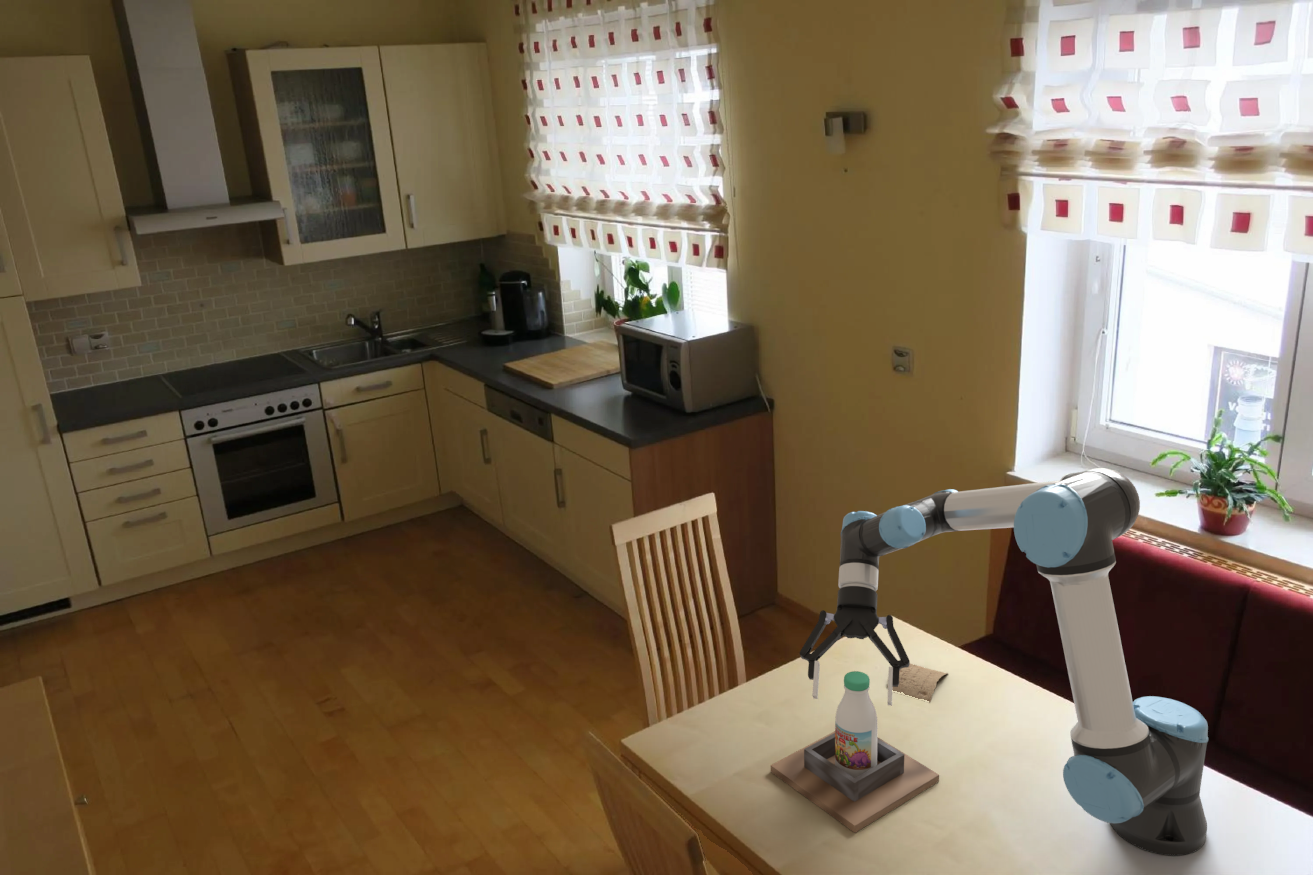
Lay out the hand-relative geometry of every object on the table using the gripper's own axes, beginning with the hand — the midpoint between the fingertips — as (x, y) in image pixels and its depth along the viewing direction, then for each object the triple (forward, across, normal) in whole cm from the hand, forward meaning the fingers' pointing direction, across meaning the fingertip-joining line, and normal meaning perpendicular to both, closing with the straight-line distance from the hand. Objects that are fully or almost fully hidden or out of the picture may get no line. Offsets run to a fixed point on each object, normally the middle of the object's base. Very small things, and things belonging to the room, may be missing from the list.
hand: (851, 700), depth 189 cm
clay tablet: (-12, -12, -35) cm, 39 cm away
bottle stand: (+12, 0, -10) cm, 16 cm away
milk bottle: (+11, -1, -9) cm, 14 cm away
